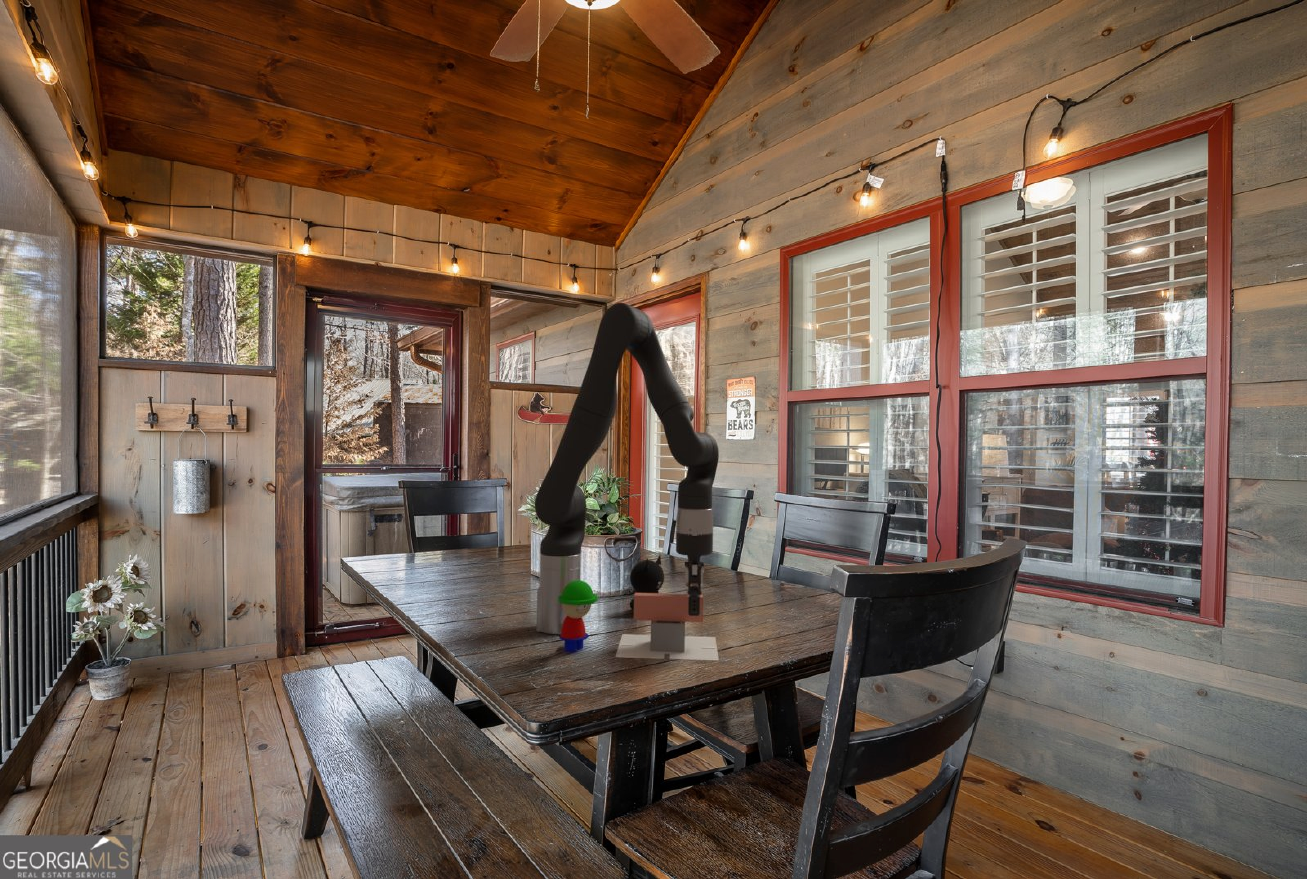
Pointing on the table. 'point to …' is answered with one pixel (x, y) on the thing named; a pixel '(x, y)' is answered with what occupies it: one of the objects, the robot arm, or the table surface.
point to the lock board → (693, 651)
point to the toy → (575, 613)
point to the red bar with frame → (665, 618)
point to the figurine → (646, 577)
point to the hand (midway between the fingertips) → (693, 609)
